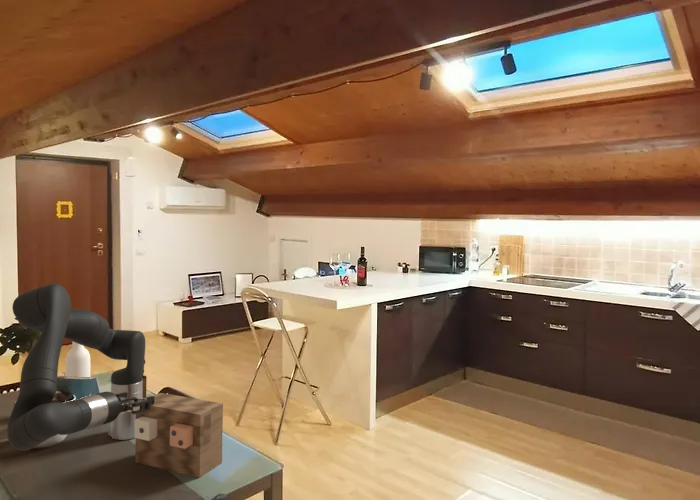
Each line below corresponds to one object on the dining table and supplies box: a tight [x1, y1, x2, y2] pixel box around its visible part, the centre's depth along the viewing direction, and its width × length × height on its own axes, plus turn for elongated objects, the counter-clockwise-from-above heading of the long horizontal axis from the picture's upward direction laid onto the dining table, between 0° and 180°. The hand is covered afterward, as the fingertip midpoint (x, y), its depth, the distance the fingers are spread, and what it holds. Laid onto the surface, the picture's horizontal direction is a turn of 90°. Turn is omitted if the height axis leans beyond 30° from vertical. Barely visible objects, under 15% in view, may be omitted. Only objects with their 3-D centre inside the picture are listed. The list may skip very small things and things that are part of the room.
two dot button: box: [170, 423, 194, 449], centre depth 143 cm, size 5×5×5 cm
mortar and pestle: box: [142, 359, 148, 398], centre depth 196 cm, size 7×6×18 cm
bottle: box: [65, 341, 91, 378], centre depth 188 cm, size 8×8×30 cm
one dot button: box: [134, 416, 158, 441], centre depth 148 cm, size 5×5×5 cm
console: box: [134, 392, 224, 479], centre depth 151 cm, size 22×10×17 cm, turn 68°
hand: (139, 398), depth 142 cm, fingers open, 8 cm apart
